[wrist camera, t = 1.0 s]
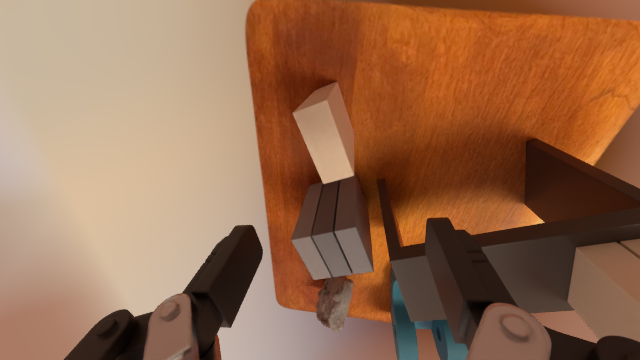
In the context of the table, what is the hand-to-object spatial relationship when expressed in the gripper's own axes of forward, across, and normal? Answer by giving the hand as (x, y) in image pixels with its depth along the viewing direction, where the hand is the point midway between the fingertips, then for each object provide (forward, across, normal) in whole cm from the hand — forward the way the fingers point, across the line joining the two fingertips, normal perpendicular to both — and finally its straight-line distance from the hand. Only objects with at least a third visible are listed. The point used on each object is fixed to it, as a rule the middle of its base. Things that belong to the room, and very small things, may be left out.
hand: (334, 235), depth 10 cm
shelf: (+22, -14, +13) cm, 29 cm away
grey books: (+22, +3, +13) cm, 26 cm away
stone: (+22, +6, +32) cm, 39 cm away
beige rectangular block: (+22, +2, 0) cm, 22 cm away
